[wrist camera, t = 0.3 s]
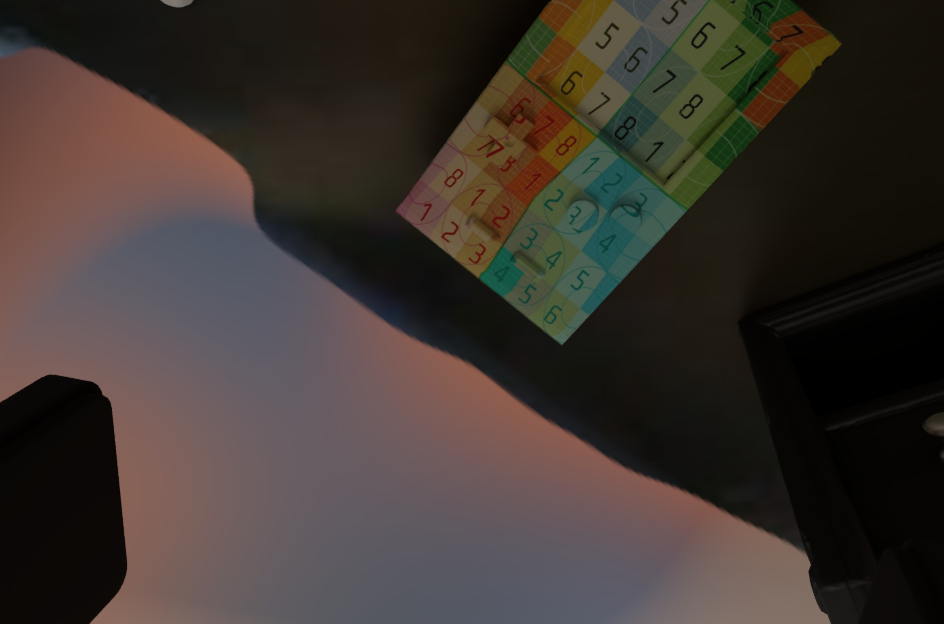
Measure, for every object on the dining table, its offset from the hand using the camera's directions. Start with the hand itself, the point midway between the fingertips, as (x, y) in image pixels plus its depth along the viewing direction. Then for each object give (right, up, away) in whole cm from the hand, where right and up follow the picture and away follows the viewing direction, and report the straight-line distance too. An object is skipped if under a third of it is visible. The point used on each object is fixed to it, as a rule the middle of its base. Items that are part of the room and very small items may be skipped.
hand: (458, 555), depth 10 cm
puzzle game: (+7, +13, +34) cm, 37 cm away
